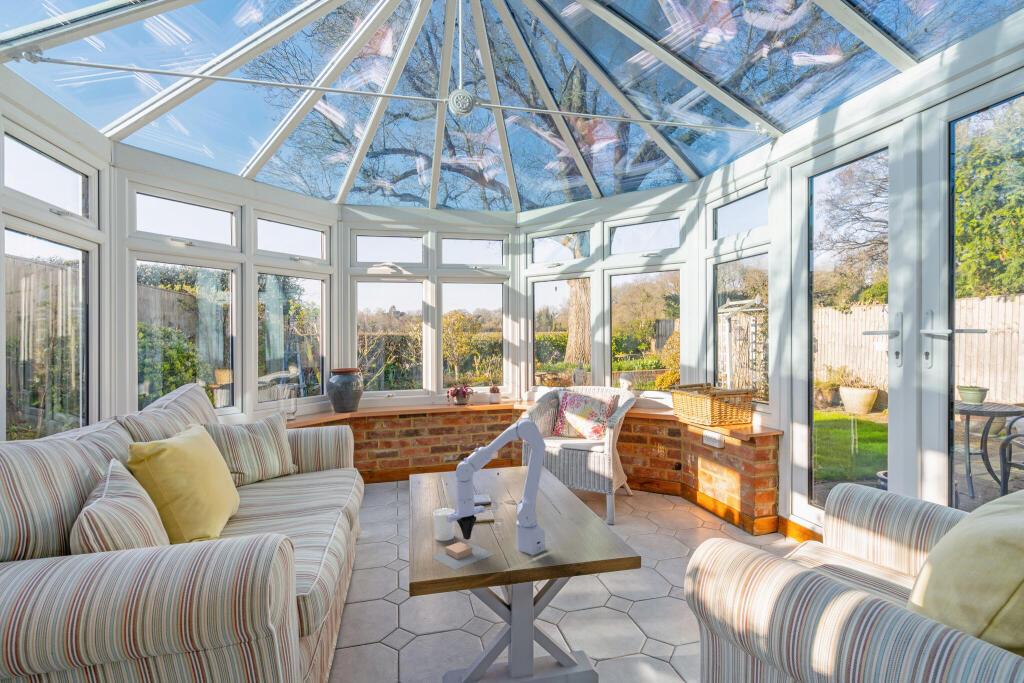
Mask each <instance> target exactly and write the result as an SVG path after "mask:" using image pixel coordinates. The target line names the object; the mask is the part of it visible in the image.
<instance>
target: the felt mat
mask: <svg viewBox="0 0 1024 683" xmlns="http://www.w3.org/2000/svg"><path fill="white" fill-rule="evenodd" d="M465 544H466V545H468V546H470V547H472V553H473V554H470V555H468V556H465V557H462V558H460V559H456V558H454V557H452V556H450V555H448V554H446V553H445V551H442V552H439V553H436V554H434V555H431V556H430V558H432V559H433V560H435V561H438V562H440V563H441V564H443V565H445V566H447V567H449V568H451V569H452V570H454V571H455V570H459V569H462V568H463V567H465V566H469V565H471V564H474V563H475V562H479V561H481V560H482V561H483V560H484V559H486V558H490V557H491V556H494V555H495V553H493V552H491V551H489V550H486V549H484V548H482V547H480V546H478V545H476V544H473V543H471V542H468V543H465Z"/></svg>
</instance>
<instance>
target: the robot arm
mask: <svg viewBox="0 0 1024 683" xmlns="http://www.w3.org/2000/svg"><path fill="white" fill-rule="evenodd" d="M519 439H522V440H523V441H524V442H526V443H527V444H528V446H529V447H530V448H531V449H530V452H529V459H528V464H527V470H526V475H525V480H524V486H523V490H522V494H521V497H520V498H521V499H520V500H519V502H518V503H517V505H516V510H515V511H516V514H517V520H516V521H515V531H516V550H517V551H518V552H521V553H525V554H528V555H530V556H535V555H537V554H539V553H542V552H544V551H546V539H545V538H546V536H545V531H544V529H543V528H542V527H541V526H539V524H538V520H537V518H538V517H537V512H536V508H537V494H538V492H539V491H538V490H539V486H540V485H539V484H540V479H541V475H542V474H541V473H542V470H543V469H542V467H543V464H544V459H545V452H546V443H545V440H544V438H543V436H542V434H541V431H540V429H539V428H538V426H537V424H536V423H535V422H534V421H533V420H532V419H531V418H529V417H522V418H520V419H519V420H518V421H516V422H515V423H512V425H510V426H509V427H507V428H506V429H505V430H504V431H503V432H502V433H501V434H499V435H498V436H497V437H496V438H495V439H494V440H493V441H492V442H490V443H489V444H488V445H486V446H480V447H476V448H475V449H473V450H474V452H472V453H471V454H470V455H469V456H468V457H464V458H463V461H462V460H461V461H460V462H459V463H458V464H457V466H456V469H455V476H456V508H457V509H456V510H455V512H454V513H452V514H450V515H448V516H447V522H449V523H452V521H455V522H457V524H458V526H459V528H460V530H461V533H462V538H463V539H464V540H465V541H469V540H470V539H471V536H472V532H473V529H474V525H475V523H476V522H477V516H475V515H478V514H484V513H485V510H486V507H485V506H483V505H478V506H475V490H474V485H475V484H474V481H473V477H474V473H477V472H479V471H480V470H481V469H482V468H483V467H484V466H486V465H487V464H488V463H490V462H491V461H492V455H493V454H494V453H496V452H497V451H499V450H500V449H501V448H502V447H504V446H505V445H507V444H508V443H509V442H511V441H519Z"/></svg>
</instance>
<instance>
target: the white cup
mask: <svg viewBox="0 0 1024 683" xmlns="http://www.w3.org/2000/svg"><path fill="white" fill-rule="evenodd" d="M454 512H456V510H455V509H453V508H450V507H445V508H443V507H441V508H438V509H435V510H434V511H433V512H432V518H433V528H434V529H433V530H434V531H433V532H434V538H435V540H436V541H440V542H441V541H442V542H444V541H445V542H446V541H449V540H452V539H454V538H455V529H456V528H455V526H456V525H455V524H456V523H455V522H456V520H455V521H452V523H449V522H447V516H448V515H450V514H452V513H454Z"/></svg>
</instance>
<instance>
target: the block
mask: <svg viewBox="0 0 1024 683" xmlns="http://www.w3.org/2000/svg"><path fill="white" fill-rule="evenodd" d="M466 544H467V543H464V542H461V541H458V542H456V543H453V544H451V545H448V546H445V548H444V550H445V551H444V552H445V553H446V554H448V555H450V556H452V557H454V558H456V559H460V558H462V557H465V556H468V555H470V554H473V553H472V547H470V546H468V545H466Z"/></svg>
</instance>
